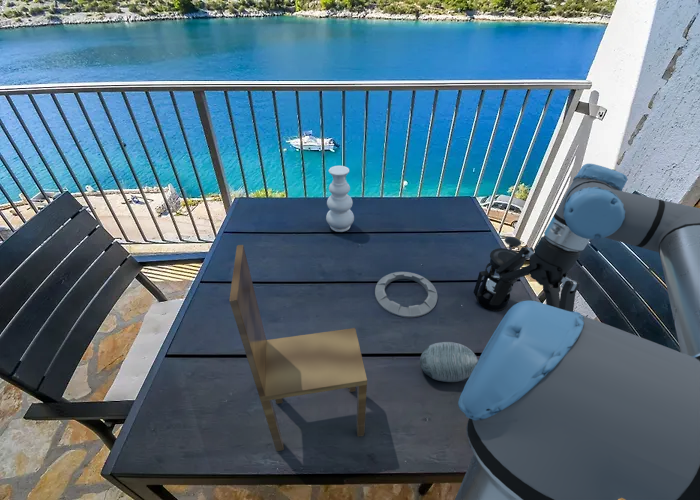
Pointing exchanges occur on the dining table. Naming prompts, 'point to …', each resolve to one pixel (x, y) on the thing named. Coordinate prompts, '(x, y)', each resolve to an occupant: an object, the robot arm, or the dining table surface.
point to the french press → (491, 281)
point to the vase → (339, 201)
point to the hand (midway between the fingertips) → (513, 323)
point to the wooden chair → (294, 356)
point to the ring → (396, 308)
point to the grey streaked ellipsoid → (448, 361)
